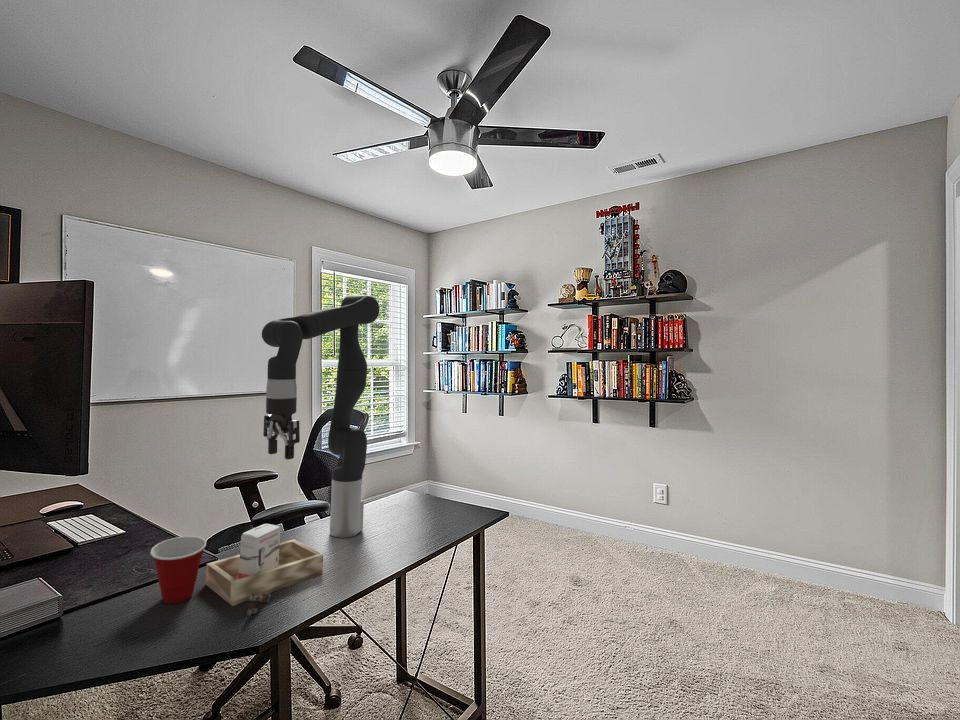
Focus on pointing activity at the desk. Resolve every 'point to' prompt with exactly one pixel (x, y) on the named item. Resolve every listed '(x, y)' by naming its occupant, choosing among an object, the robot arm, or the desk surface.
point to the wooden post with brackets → (253, 598)
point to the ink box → (259, 550)
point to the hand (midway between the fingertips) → (280, 456)
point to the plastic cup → (178, 566)
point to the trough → (264, 573)
